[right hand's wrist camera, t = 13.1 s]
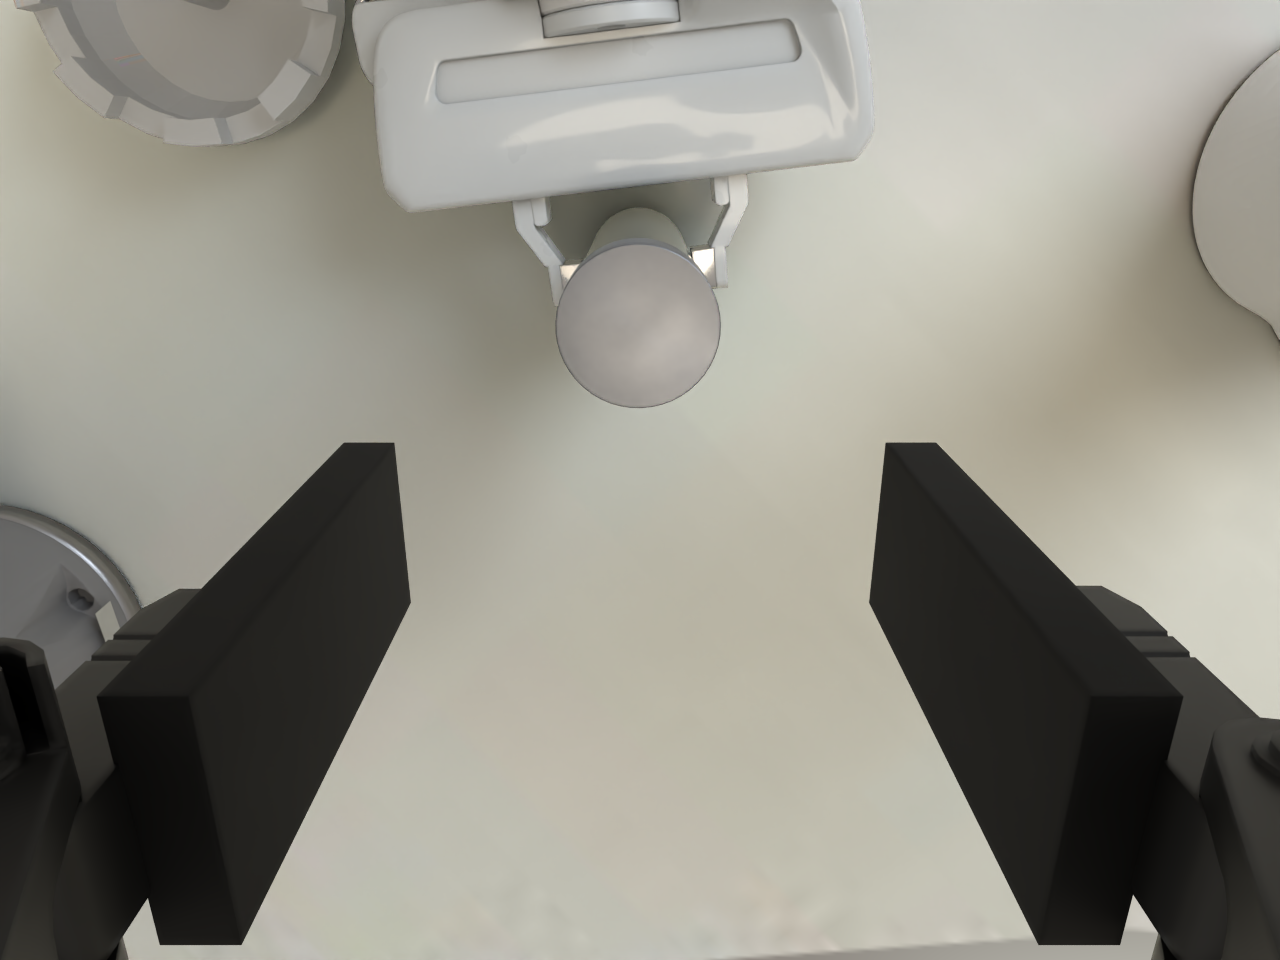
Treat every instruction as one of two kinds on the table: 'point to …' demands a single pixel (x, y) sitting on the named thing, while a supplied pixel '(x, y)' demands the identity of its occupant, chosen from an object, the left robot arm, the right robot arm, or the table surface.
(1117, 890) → the right robot arm
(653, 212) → the jar
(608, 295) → the lid
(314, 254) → the table surface
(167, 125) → the flag stand
